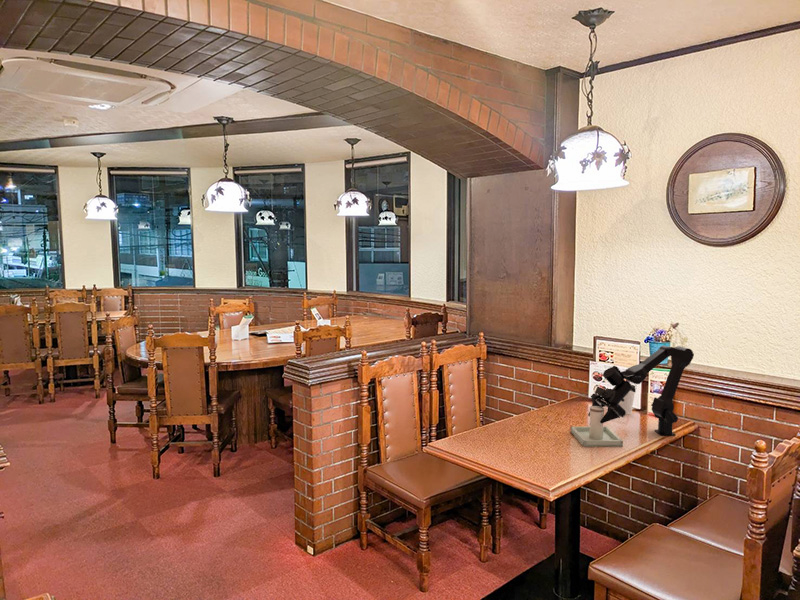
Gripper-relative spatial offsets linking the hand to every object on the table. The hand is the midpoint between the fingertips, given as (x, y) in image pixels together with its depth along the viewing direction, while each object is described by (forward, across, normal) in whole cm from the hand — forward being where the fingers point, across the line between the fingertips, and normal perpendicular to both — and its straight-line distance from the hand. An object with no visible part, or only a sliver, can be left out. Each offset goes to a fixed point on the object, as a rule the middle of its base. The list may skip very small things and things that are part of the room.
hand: (594, 419), depth 239 cm
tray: (+6, 0, +7) cm, 9 cm away
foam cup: (-18, -31, +31) cm, 47 cm away
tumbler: (+5, 0, +6) cm, 8 cm away
